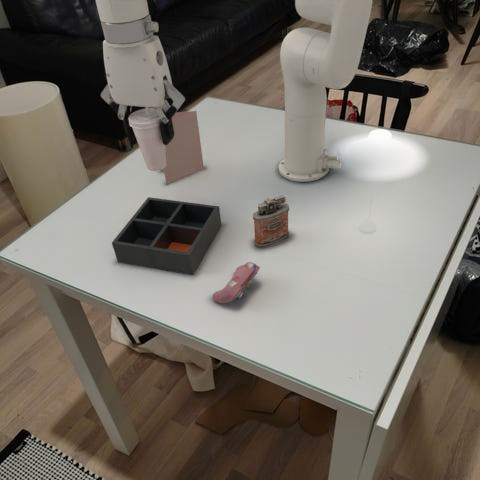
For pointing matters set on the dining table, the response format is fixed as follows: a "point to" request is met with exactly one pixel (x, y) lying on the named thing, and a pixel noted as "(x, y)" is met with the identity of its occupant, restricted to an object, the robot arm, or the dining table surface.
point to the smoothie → (149, 137)
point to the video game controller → (237, 283)
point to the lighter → (271, 222)
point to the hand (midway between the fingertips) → (150, 139)
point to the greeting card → (183, 147)
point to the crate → (168, 235)
